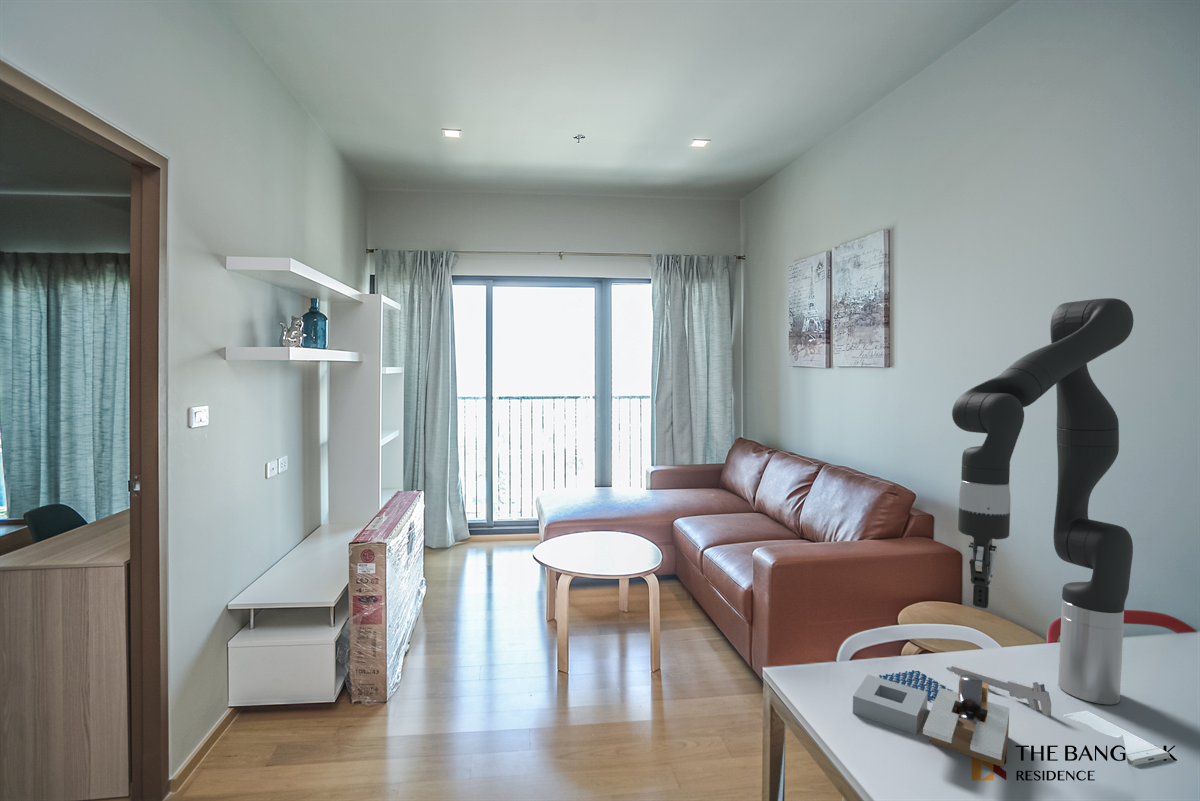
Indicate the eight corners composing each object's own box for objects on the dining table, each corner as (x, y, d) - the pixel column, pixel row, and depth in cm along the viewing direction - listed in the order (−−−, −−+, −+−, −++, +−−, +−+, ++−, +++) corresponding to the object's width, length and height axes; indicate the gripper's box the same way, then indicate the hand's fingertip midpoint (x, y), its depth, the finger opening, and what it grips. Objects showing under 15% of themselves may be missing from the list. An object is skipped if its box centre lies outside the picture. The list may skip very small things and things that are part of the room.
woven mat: (916, 677, 121) (916, 667, 121) (961, 704, 111) (962, 693, 111) (873, 683, 118) (874, 673, 118) (916, 712, 108) (916, 701, 108)
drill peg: (959, 731, 99) (961, 672, 99) (980, 738, 98) (983, 678, 97) (956, 739, 97) (959, 679, 97) (978, 747, 95) (981, 685, 95)
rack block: (867, 695, 112) (867, 674, 112) (926, 714, 106) (927, 692, 106) (852, 718, 104) (853, 695, 104) (916, 740, 98) (916, 716, 98)
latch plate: (939, 692, 104) (940, 670, 104) (1009, 712, 98) (1010, 689, 98) (922, 733, 91) (923, 709, 91) (1001, 760, 85) (1002, 734, 85)
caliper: (1051, 722, 105) (1052, 687, 105) (1046, 723, 105) (1048, 688, 104) (949, 669, 124) (950, 639, 124) (945, 669, 124) (946, 639, 124)
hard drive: (1052, 716, 105) (1132, 759, 93) (1087, 709, 107) (1170, 751, 95) (1052, 725, 105) (1132, 769, 93) (1087, 719, 107) (1169, 761, 95)
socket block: (938, 720, 104) (939, 692, 104) (1007, 742, 98) (1009, 712, 98) (928, 747, 96) (929, 717, 96) (1003, 773, 90) (1004, 741, 90)
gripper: (1007, 517, 96) (1003, 623, 97) (1012, 504, 107) (1009, 600, 107) (953, 510, 101) (950, 612, 101) (963, 499, 111) (960, 591, 112)
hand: (980, 605), depth 104 cm, fingers closed
